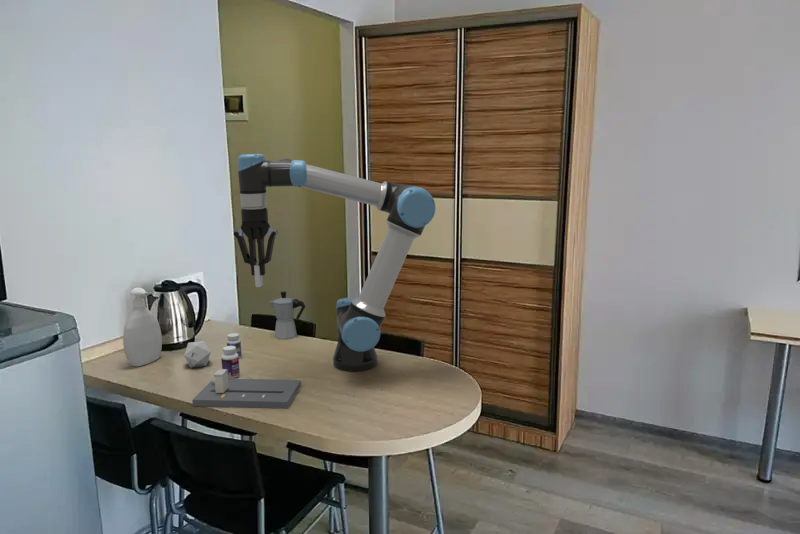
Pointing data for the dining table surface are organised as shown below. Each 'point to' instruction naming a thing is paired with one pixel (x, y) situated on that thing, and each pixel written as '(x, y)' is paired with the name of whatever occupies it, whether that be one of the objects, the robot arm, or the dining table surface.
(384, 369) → the dining table surface
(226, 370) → the fader knob
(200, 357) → the die
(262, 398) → the console
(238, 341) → the pill bottle
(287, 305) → the coffee maker
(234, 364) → the pill bottle
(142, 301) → the soap bottle
